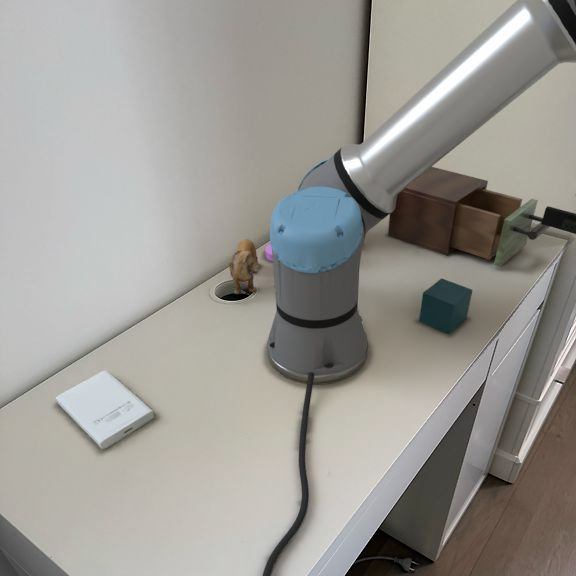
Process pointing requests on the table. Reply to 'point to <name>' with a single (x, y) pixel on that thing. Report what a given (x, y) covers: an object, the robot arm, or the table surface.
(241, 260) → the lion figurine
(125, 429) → the hard drive
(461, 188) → the cabinet
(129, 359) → the table surface
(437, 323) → the block
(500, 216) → the drawer
